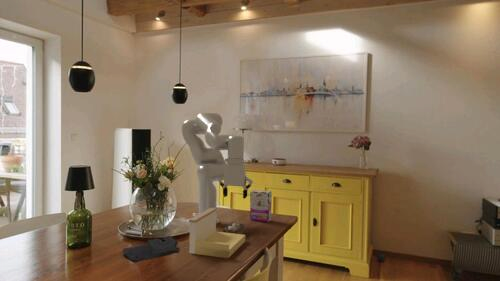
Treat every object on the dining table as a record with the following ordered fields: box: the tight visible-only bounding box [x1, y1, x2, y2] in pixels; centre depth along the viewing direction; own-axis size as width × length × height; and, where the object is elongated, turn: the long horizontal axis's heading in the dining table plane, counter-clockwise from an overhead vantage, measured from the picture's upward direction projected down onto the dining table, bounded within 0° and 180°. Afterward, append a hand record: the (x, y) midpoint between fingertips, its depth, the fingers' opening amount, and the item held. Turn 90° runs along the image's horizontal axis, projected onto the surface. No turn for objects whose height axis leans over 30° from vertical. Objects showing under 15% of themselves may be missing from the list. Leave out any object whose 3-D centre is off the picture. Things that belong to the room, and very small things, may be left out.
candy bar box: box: [249, 189, 273, 223], centre depth 199 cm, size 11×5×16 cm, turn 67°
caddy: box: [222, 222, 245, 235], centre depth 172 cm, size 6×12×5 cm, turn 163°
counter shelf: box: [188, 207, 246, 259], centre depth 155 cm, size 17×23×14 cm
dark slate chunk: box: [122, 235, 180, 263], centre depth 149 cm, size 15×22×5 cm
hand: (235, 197), depth 171 cm, fingers open, 9 cm apart
